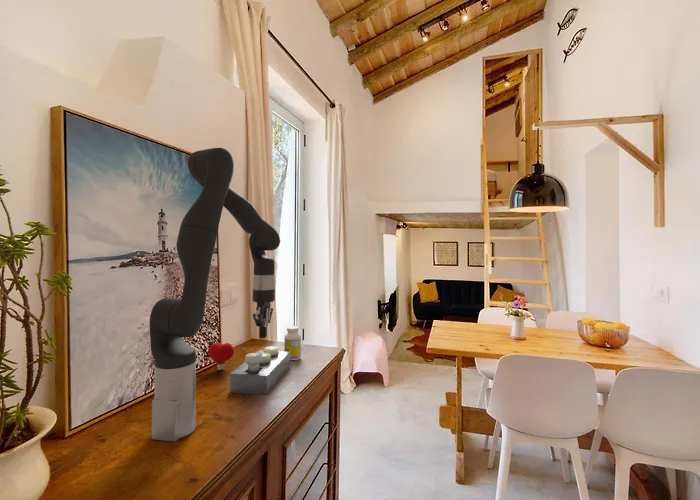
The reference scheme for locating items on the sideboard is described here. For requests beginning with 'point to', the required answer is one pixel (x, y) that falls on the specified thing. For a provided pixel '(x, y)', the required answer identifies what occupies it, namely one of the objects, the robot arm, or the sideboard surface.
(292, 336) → the supplement bottle
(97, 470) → the sideboard surface
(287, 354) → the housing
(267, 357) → the cap mid
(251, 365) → the cap near
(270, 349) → the cap far
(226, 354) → the red heart
